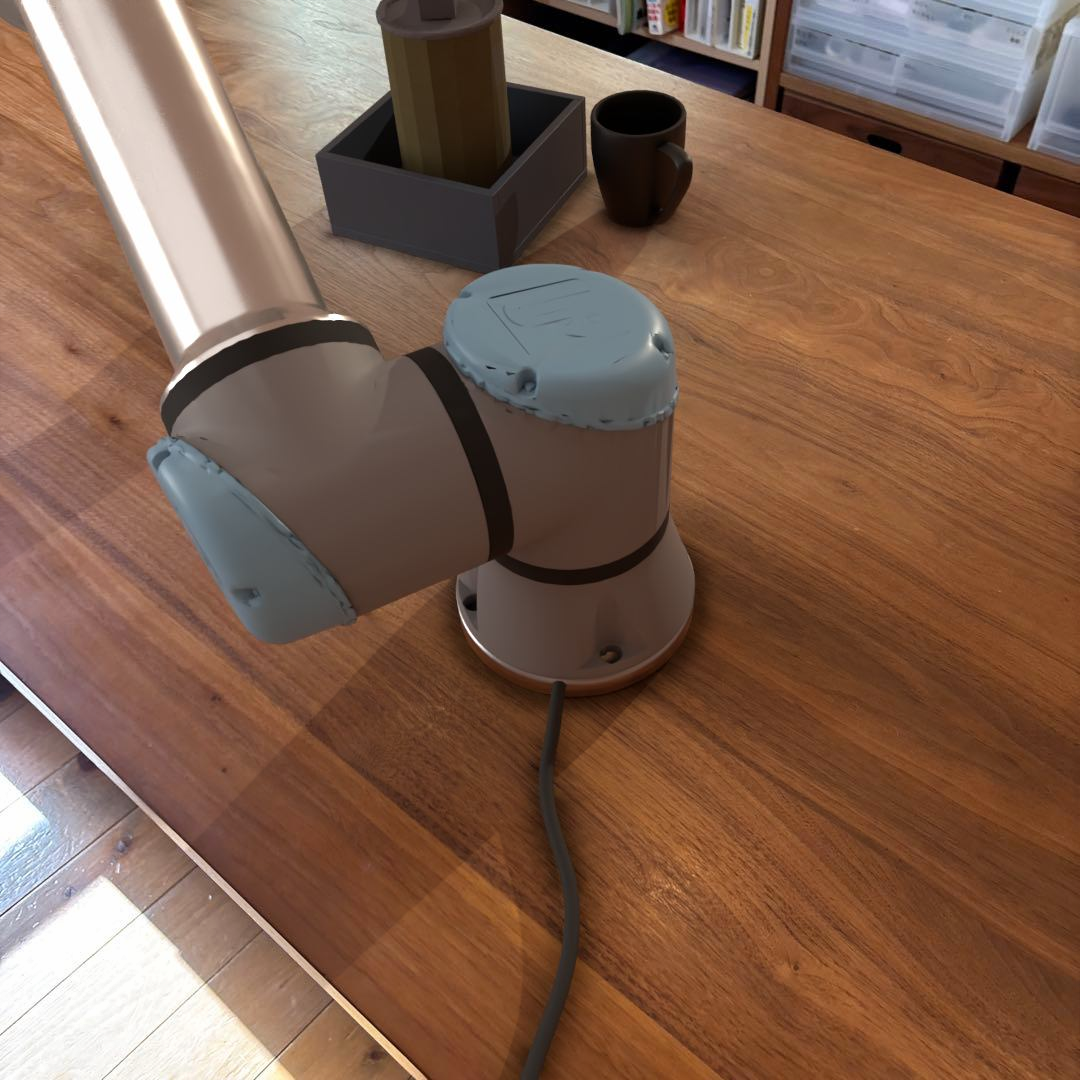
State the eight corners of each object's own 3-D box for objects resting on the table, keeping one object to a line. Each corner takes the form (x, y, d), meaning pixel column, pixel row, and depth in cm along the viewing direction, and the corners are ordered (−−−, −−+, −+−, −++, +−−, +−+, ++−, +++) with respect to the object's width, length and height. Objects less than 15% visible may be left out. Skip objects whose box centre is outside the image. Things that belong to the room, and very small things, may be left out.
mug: (638, 268, 96) (639, 167, 89) (577, 201, 103) (573, 104, 96) (720, 240, 98) (728, 140, 91) (654, 177, 105) (657, 80, 98)
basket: (500, 278, 96) (492, 195, 90) (332, 234, 102) (314, 154, 96) (587, 176, 106) (585, 96, 100) (429, 142, 112) (418, 64, 106)
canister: (516, 224, 99) (497, -4, 84) (401, 229, 100) (362, 2, 85) (519, 161, 107) (502, -61, 92) (411, 165, 107) (377, -54, 92)
